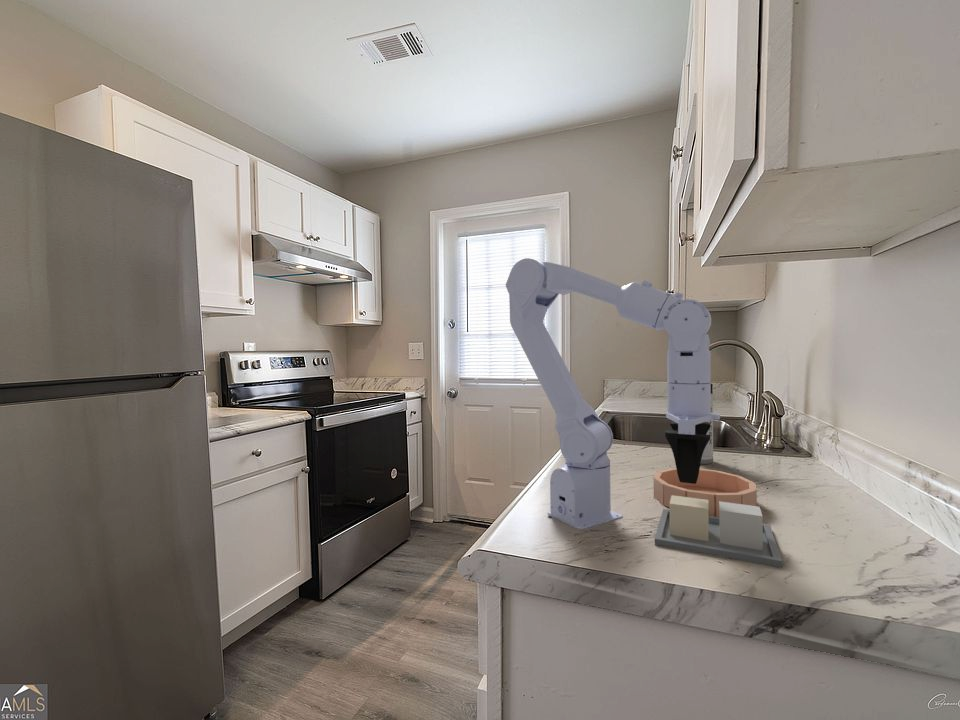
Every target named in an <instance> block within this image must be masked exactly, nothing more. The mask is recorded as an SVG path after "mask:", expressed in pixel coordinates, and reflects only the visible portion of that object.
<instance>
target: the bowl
mask: <svg viewBox="0 0 960 720" xmlns="http://www.w3.org/2000/svg"><path fill="white" fill-rule="evenodd" d="M757 494H758V490H757V485H756V483H755V482H754V481H753V480H750V479H748V478H745V477H743V476H741V475H739V474H738V475H737V474H733V473H729V472H725V471H721V470H717V469H716V470H714V469H708V468H707V469H706V468H700V469H699V475H698V479H697V482H696V484H692V483H683V482H680V481H679V478H678V474H677V469H676V467H673V468H671V467H670V468H667V469H662V470H658V471H656V472H655V474H654V476H653V498H654V499H655V500H656V501H657V502H659V503H660V504H661V505H663V506H665V507H668V508H670V500H671V496H672V495H674V496H682V497H689V498H697V499H705V500H708V516H715V517H719V501H720V502H728V503H735V504H743V505H751V506H758V505H757V504H758V499H757V498H758V497H757V496H758V495H757Z"/></svg>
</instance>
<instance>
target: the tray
mask: <svg viewBox="0 0 960 720" xmlns="http://www.w3.org/2000/svg"><path fill="white" fill-rule="evenodd" d="M708 519H709V541H704V540H698V539H692V538H686V537H680V536H674V535H670V509H665V508H663V509H662V512H661V515H660V519H659V523H658V526H657V529H656V533H655V537H654V545H655V546H659V547H666V548H671V549H676V550H682V551H688V552H693V553H698V554H705V555H709V556H714V557H719V558H720V557H721V558H726V559H730V560H736V561H741V562H742V561H743V562H747V563H754V564H757V565H764V566H769V567H774V568H781V569H782V568H783V561H782V557H781V555H780V551H779V548H778V546H777V542H776V539H775V537H774V534H773V531H772V528H771V525H770V524H768V523H763V550H757V549H751V548H745V547H739V546H733V545H727V544H721V543H720V536H719V517H715V516H708Z"/></svg>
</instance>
